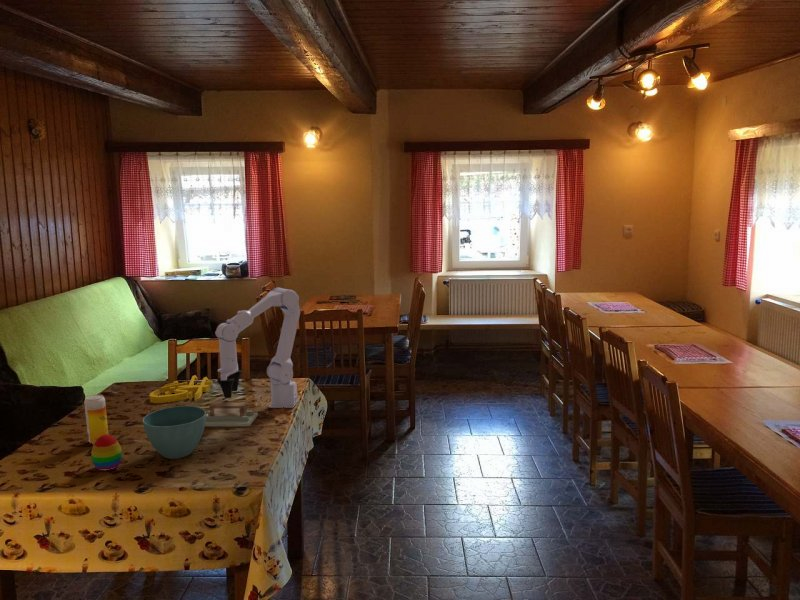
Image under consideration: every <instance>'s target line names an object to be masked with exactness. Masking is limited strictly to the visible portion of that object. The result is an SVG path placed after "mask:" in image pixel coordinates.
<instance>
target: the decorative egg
mask: <svg viewBox="0 0 800 600" xmlns="http://www.w3.org/2000/svg"><path fill="white" fill-rule="evenodd" d="M92 445H93V446H92V447H91V455H90V456H91V462H92V464H93V466H94V468H95V469H97V470H98V469H111V468H114V467H116V468H118V467H119V465H120V463H121V462H122V459H123V458H122V457H123V451H122V447H121V445H120V443H119V441H118V440H117V439H116V437H114V436H113V435H111V434H108V435H107V434H105V435H102V436H100V437H99V438H98V439H97V440H96V442H95V443H94V444H92ZM117 466H118V467H117Z"/></svg>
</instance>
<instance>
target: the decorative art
mask: <svg viewBox="0 0 800 600" xmlns="http://www.w3.org/2000/svg"><path fill="white" fill-rule="evenodd" d="M191 380H192V381H191ZM194 380H198V381H199V379H198V377H197V374H194V375H192V376H191V379H190V381H189V383H188V381H186V382H181V383H179V381H177V380H176V381H175V380H174V381H172V383H167V384H163V386H161V387H160V388H159V389H158V388H157V389H154V391H152V392H150V393H149V402H150V403H151V404H167V402H168V403H173V402H179V401H184V400H186V399H188V400H192V399H193V398H194V401H197V399H198V400H199V399H200V398H201V397H202V395H203V394H204V393H203V392H206V393H208V392H210V391H211V387H210V385H212V384H213V380H209V378H208V377H207V376H205V377H203V378H202V380H206V381H202V380H201V382H198V383H197V384H196V383H195V385H194ZM209 390H210V391H209ZM207 391H208V392H207ZM161 393H162V395H161ZM172 393H175V394H172ZM158 395H159V396H158Z"/></svg>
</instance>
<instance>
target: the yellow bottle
mask: <svg viewBox="0 0 800 600" xmlns="http://www.w3.org/2000/svg"><path fill="white" fill-rule="evenodd" d="M83 403H84V412H85V413H84V414H85V422H86V424H85V425H86V432H87V439H88V440H87V441H88V442H89V443H90V444H91V443H92V444H91V445H94V443H95V442H96V440H97V439H98V438H99V437H100V436H102V435H105V434H107V435H109V424H108V416H107V405H106V398H105V397H104V395H103V394H94V395H93V394H92V395H88V396H86V397H85V399H84V402H83Z"/></svg>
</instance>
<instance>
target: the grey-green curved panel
mask: <svg viewBox="0 0 800 600" xmlns="http://www.w3.org/2000/svg"><path fill="white" fill-rule="evenodd" d="M258 416H259V414H258V412H254V410H250V409H249V410H248V409H247V416H210V410H208V411H207V414H206V421H205V427H250V426H251V425H252V424H253V422H254V421H255V420H256V418H257V417H258Z"/></svg>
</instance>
